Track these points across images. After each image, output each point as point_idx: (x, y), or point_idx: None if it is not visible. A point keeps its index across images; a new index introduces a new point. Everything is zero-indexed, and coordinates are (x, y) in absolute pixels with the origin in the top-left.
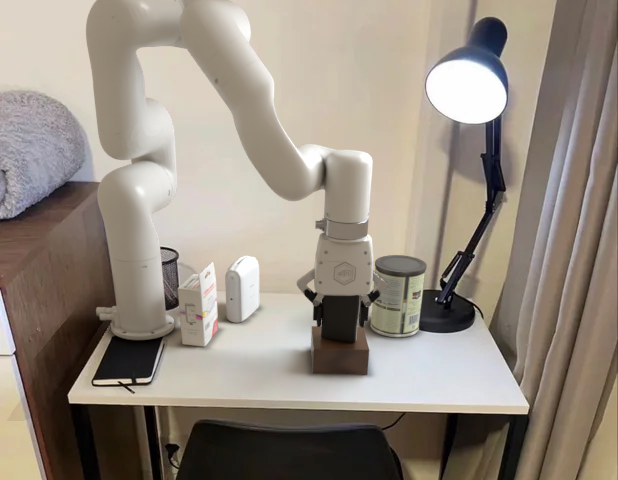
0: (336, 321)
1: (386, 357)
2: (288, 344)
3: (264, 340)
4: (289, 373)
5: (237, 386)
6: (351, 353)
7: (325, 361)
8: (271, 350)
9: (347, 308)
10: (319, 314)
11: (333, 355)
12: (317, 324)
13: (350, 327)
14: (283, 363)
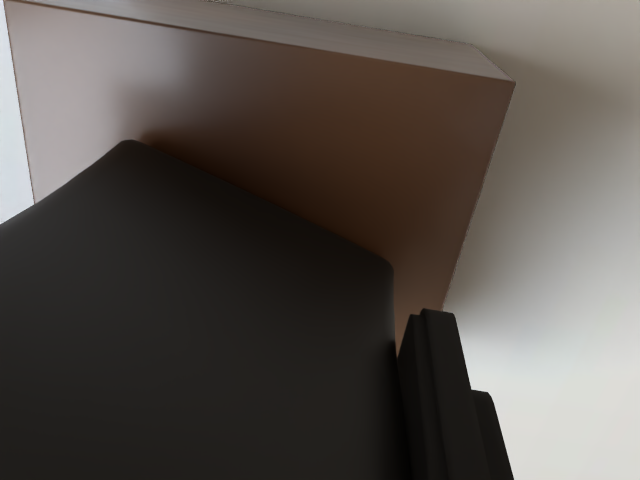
0: (244, 308)
1: (3, 188)
2: (492, 389)
3: (596, 439)
4: (623, 74)
5: None
6: (176, 18)
7: (396, 45)
8: (605, 351)
9: (11, 399)
10: (455, 412)
11: (334, 41)
12: (455, 324)
13: (103, 211)
14: (604, 207)
